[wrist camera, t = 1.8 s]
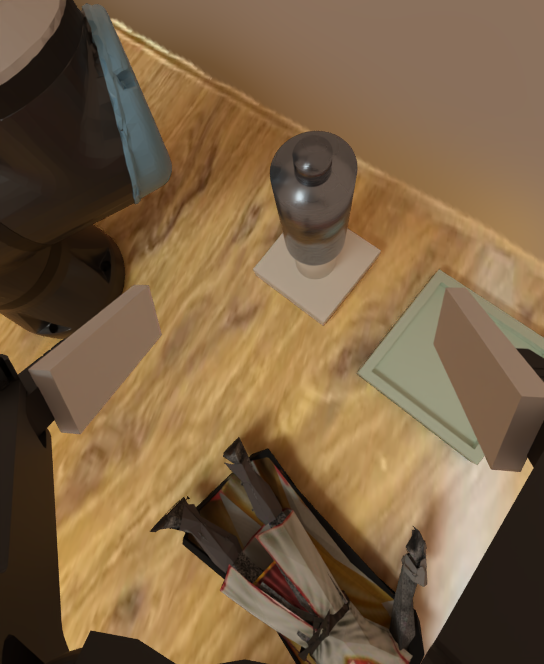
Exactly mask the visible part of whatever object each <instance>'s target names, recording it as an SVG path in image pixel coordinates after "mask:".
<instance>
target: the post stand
mask: <svg viewBox="0 0 544 664" xmlns="http://www.w3.org/2000/svg"><path fill="white" fill-rule="evenodd" d="M380 252H381V250H379V249H378V248H376V247H375V246H373V245H372V244H370V243H369V242H367V241H366V240H364V239H363V238H361V237H360V236H358V235H357V234H355V233H354V232H352V231H351V230H349V229H348V228H347V233H346V238H345V243H344V246H343V248H342V250H341V252H340V253H339V254H338V255H337V257H335V258H334V259H333V260H331V261H330V262H328V263H325V264H322V265H316V266H312V265H306V264H303V263H300V262H299V261H297V260H296V259H294V258H293V257H292V256H291V255H290V253H289V252H288V250H287V247H286V244H285V239H284V235H283V233H282V234H281V236H280V237H279V238H278V239H277V241H276V242H275V243H274V244H273V245H272V247H271V248H270V249H269V250H268V252H267V253H266V254H265V255H264V257H263V258H262V259H261V260H260V261H259V263H258V264H257V265H256V266H255V268H254V269H253V270H254V272H255V274H256V275H257V276H258V277H259V278H261V279H262V280H263V281H265V282H266V283H267V284H269V285H270V286H271V287H272V288H274V289H275V290H276V291H278V292H279V293H280V294H282V295H283V296H284V297H286V298H287V299H288V300H290V301H291V302H292V303H294V304H295V305H296V306H298V307H299V308H300V309H302V310H303V311H304V312H306V313H307V314H308V315H310V316H311V317H312V318H314V319H315V320H316V321H318V322H319V323H320V324H322V325H323V326H324V325H325V323H326V322H327V321H328V320H329V318H330V317H331V316H332V315H333V313H334V312H335V311H336V310H337V308H338V307H339V306H340V305H341V303H342V302H343V301H344V300H345V298H346V297H347V296H348V295H349V293H350V292H351V291H352V289H353V288H354V287H355V286H356V284H357V283H358V282H359V281H360V279H361V278H362V277H363V276H364V274H365V273H366V272H367V271H368V269H369V268H370V267H371V266H372V264H373V263H374V262H375V261H376V259H377V258H378V256H379V254H380Z"/></svg>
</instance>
